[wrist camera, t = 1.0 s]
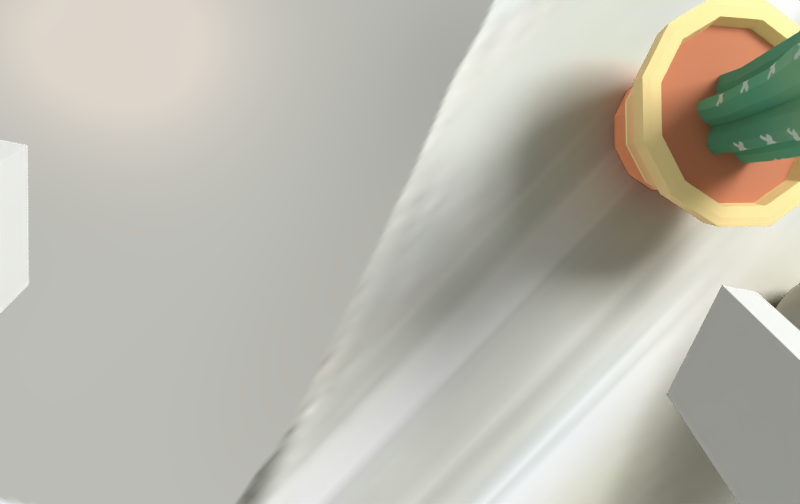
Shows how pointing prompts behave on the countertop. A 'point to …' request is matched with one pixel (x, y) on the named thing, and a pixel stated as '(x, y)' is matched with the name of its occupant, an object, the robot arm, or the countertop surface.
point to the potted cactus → (718, 114)
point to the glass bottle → (791, 306)
